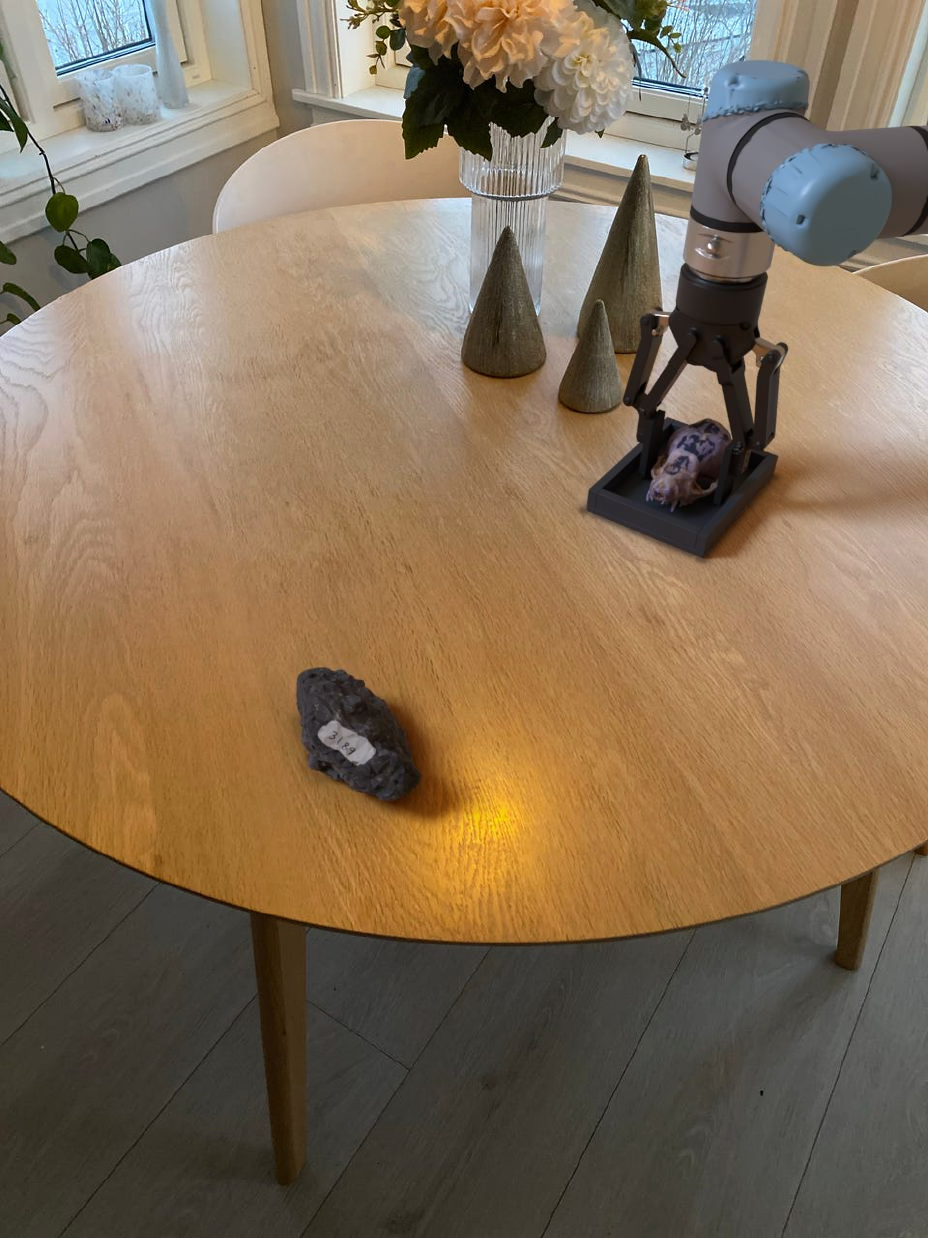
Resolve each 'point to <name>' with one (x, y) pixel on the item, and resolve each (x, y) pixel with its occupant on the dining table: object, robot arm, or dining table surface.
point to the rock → (354, 735)
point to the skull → (689, 463)
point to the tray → (685, 525)
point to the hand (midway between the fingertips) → (684, 483)
